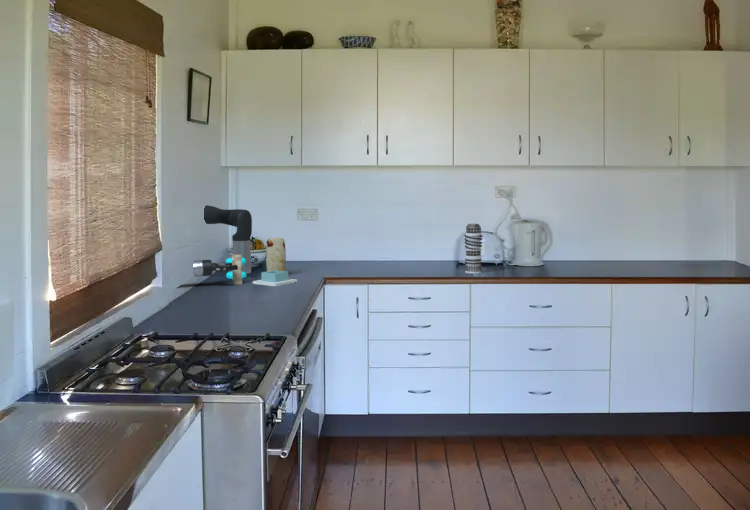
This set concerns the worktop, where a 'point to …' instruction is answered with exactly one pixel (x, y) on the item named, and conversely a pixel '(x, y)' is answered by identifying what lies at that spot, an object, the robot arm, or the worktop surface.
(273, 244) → the food model
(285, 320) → the worktop surface
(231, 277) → the donuts
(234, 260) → the birch peg
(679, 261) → the worktop surface
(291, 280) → the socket block
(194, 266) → the robot arm
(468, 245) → the decorative candle
